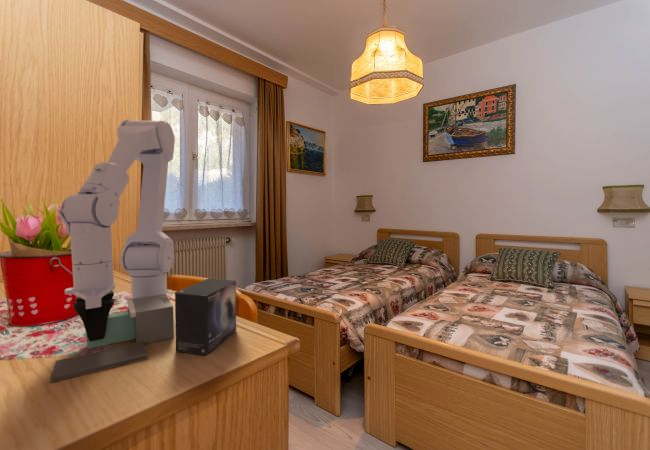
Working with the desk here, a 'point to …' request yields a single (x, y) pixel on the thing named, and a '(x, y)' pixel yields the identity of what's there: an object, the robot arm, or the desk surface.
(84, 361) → the mat
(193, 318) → the small box
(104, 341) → the green block
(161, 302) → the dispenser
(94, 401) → the desk surface
